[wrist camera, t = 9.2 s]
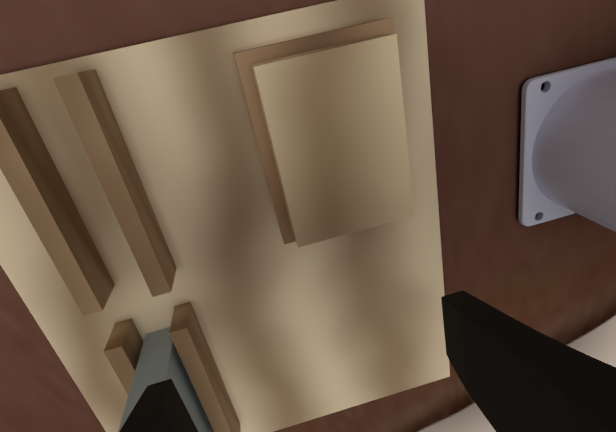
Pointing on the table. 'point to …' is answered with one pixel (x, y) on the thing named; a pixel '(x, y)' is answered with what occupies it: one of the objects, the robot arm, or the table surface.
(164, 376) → the grey blue slab
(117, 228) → the rack
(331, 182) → the offcut top
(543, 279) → the table surface
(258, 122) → the plate
